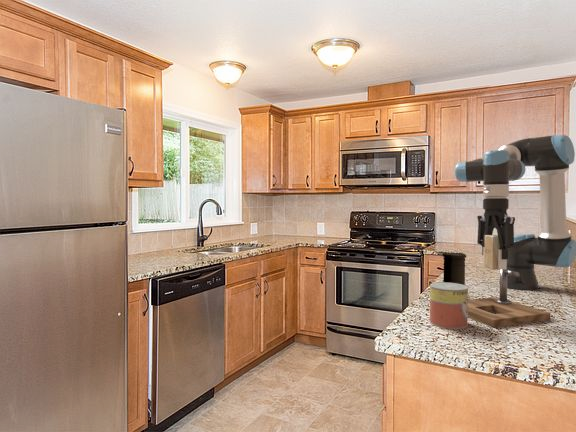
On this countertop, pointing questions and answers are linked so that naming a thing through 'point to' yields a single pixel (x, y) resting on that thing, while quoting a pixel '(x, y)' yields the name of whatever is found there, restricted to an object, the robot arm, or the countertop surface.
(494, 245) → the box
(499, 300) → the door lever handle
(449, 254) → the container
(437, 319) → the canned food
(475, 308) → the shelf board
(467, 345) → the countertop surface
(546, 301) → the countertop surface
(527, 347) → the countertop surface
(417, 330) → the countertop surface
